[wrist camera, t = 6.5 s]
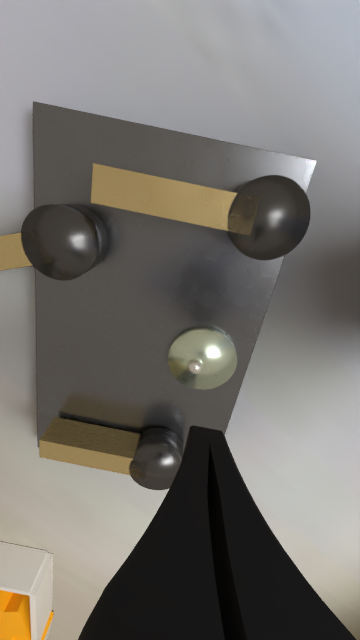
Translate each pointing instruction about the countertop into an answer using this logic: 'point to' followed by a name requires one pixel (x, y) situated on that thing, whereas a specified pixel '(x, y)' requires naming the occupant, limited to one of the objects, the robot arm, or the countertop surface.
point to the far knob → (116, 450)
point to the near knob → (56, 242)
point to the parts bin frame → (29, 581)
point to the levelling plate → (148, 282)
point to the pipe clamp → (17, 617)
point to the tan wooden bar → (215, 207)
